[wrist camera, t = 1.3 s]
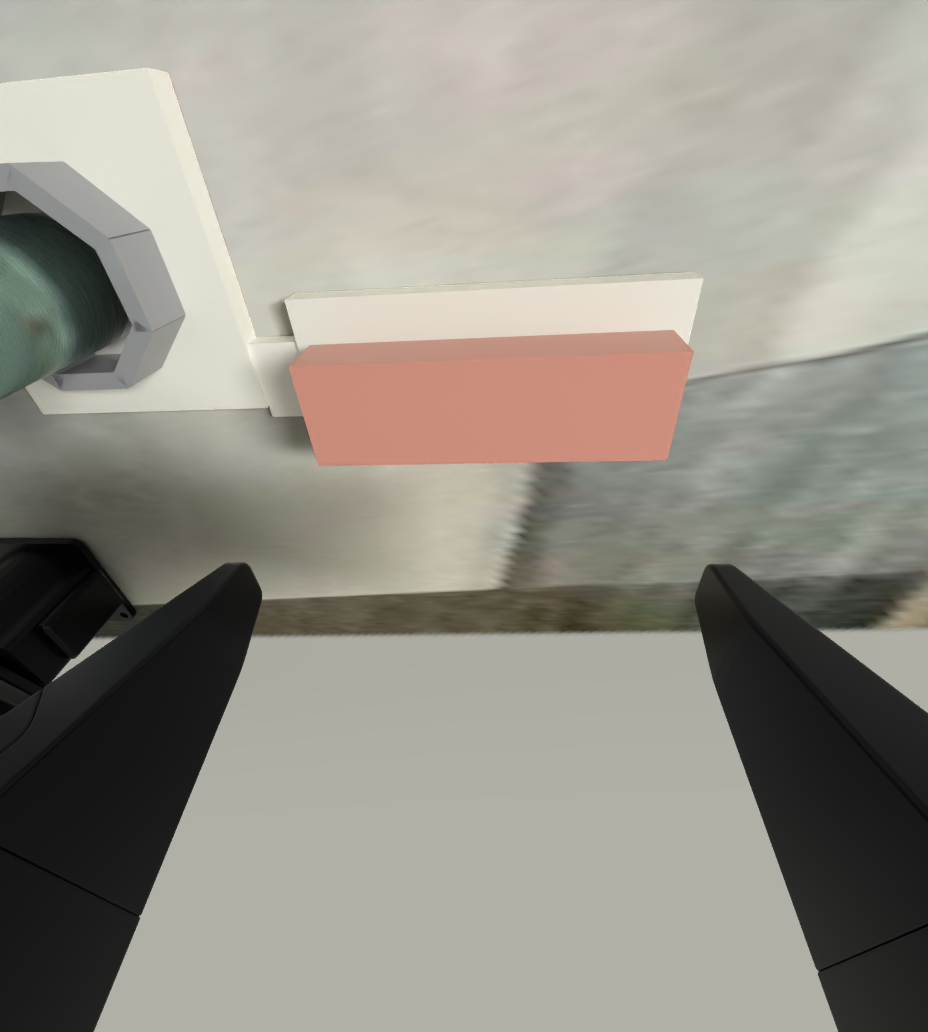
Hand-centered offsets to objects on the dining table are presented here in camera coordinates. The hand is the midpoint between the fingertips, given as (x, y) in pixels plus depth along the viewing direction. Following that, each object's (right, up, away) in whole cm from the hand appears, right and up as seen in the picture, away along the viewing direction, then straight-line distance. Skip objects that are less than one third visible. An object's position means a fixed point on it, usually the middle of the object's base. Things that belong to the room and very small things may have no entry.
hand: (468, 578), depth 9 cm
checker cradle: (-5, +9, +8) cm, 13 cm away
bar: (+1, +6, +7) cm, 9 cm away
